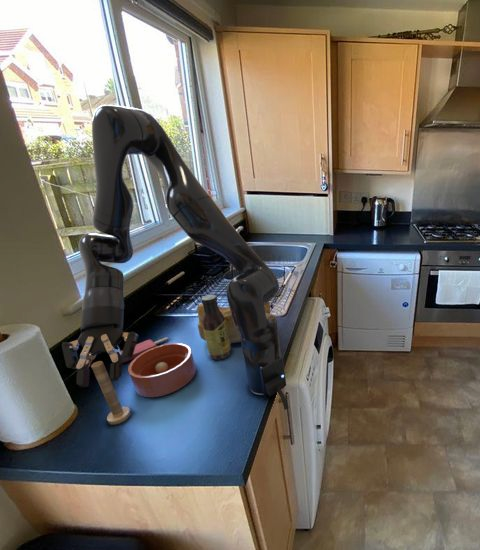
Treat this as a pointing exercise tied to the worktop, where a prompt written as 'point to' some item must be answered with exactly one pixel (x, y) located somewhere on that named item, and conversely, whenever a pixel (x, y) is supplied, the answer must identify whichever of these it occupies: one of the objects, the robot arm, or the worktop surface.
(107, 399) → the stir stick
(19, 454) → the worktop surface
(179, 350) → the mixing bowl
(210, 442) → the worktop surface
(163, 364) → the dough ball
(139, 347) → the popsicle
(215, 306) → the sauce bottle
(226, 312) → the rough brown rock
